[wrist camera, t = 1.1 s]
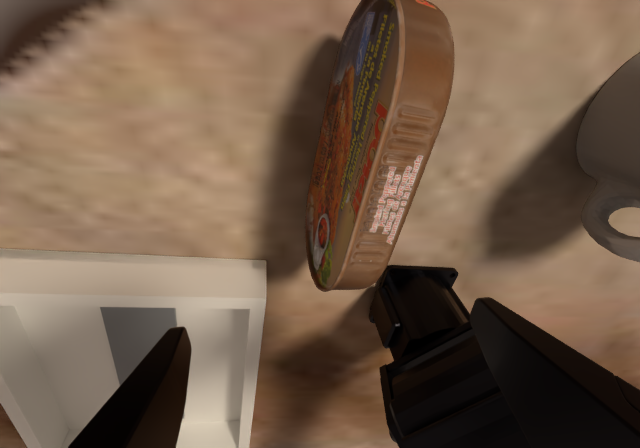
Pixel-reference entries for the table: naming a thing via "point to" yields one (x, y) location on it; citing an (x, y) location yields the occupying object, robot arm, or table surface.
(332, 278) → the tin
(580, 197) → the table surface
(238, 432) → the tray
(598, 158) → the coffee mug
